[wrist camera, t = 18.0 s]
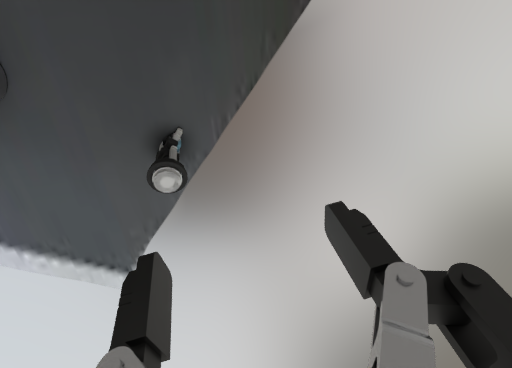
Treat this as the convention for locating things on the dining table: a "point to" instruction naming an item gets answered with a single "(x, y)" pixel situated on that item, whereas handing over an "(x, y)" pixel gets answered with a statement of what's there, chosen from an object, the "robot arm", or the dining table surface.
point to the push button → (168, 166)
